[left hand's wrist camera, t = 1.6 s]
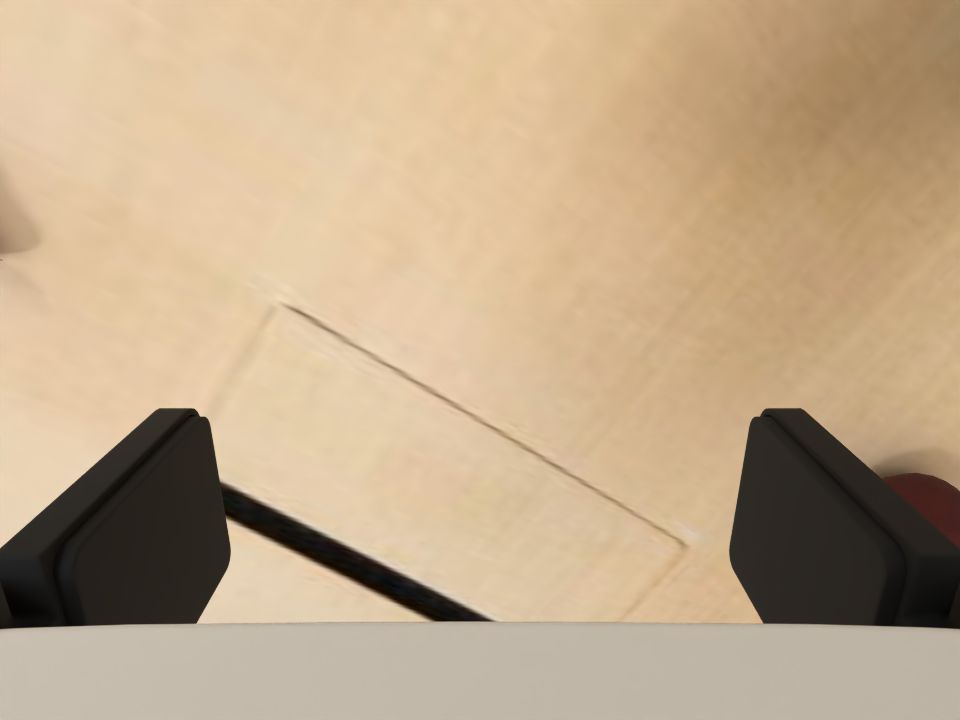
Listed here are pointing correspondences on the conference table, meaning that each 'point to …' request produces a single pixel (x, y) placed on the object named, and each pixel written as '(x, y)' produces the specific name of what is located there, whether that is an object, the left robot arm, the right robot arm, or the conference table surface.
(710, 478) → the conference table surface
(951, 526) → the dark red ball
